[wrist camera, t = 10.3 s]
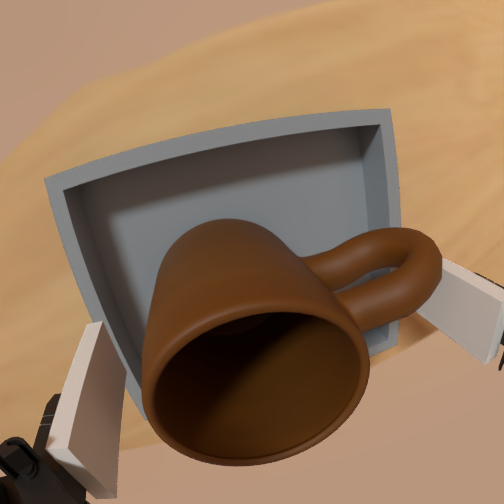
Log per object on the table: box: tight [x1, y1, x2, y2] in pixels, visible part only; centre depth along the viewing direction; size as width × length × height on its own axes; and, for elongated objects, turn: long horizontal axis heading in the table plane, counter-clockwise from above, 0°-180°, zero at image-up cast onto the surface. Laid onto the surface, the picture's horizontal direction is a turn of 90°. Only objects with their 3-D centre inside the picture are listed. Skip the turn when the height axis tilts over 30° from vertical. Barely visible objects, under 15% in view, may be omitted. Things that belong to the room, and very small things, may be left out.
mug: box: [141, 218, 442, 466], centre depth 13 cm, size 12×8×9 cm, turn 120°
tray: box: [44, 109, 401, 420], centre depth 17 cm, size 17×15×3 cm
